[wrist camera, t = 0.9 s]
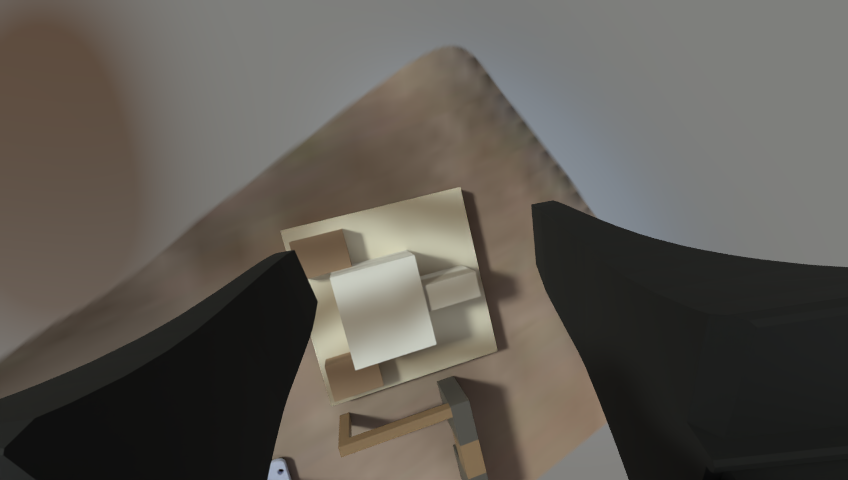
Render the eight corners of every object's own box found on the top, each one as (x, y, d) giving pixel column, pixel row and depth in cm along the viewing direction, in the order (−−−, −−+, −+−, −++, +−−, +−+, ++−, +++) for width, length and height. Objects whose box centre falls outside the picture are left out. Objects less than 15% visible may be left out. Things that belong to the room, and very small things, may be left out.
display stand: (491, 345, 34) (517, 369, 29) (332, 397, 32) (328, 435, 26) (455, 188, 33) (476, 183, 27) (283, 229, 30) (269, 233, 25)
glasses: (477, 472, 35) (495, 509, 31) (368, 515, 33) (371, 561, 29) (453, 376, 34) (469, 400, 29) (339, 414, 32) (338, 446, 28)
